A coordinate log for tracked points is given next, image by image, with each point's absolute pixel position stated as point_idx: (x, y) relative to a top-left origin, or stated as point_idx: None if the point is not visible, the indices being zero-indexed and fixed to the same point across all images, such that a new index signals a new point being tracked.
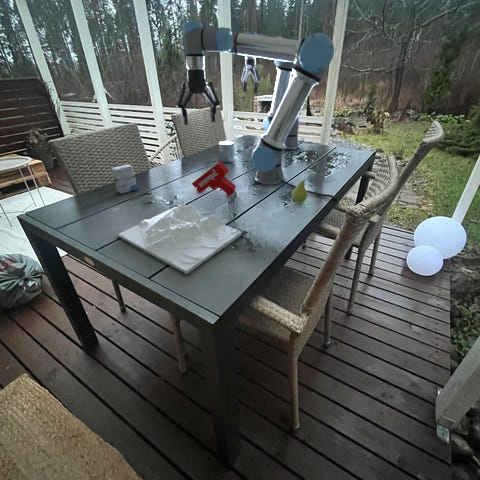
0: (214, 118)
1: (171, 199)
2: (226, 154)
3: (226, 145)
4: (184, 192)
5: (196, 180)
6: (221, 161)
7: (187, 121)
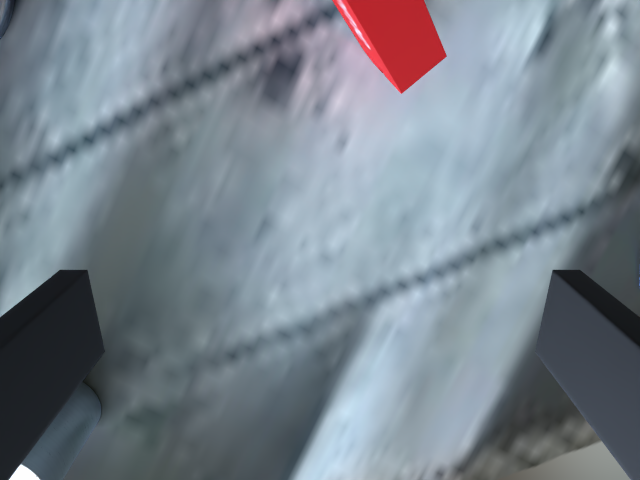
0: (32, 300)
1: (578, 21)
2: None
3: None
4: (472, 80)
5: (433, 25)
6: (97, 399)
7: (585, 295)
